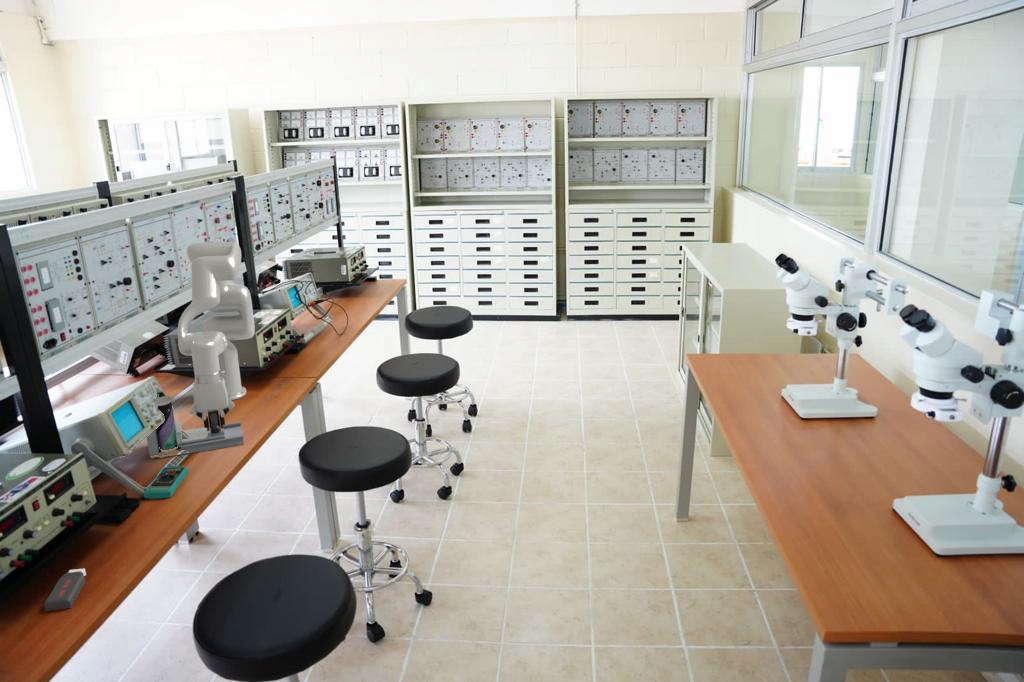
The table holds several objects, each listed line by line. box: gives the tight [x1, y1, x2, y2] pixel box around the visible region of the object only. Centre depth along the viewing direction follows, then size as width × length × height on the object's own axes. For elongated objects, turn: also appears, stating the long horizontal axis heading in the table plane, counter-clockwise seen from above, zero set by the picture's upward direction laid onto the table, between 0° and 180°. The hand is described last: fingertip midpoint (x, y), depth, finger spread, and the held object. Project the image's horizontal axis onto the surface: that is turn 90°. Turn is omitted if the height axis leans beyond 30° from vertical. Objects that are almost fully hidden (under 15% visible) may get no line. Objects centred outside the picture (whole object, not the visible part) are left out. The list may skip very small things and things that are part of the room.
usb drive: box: [43, 568, 87, 612], centre depth 156 cm, size 5×12×3 cm, turn 12°
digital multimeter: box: [143, 465, 189, 499], centre depth 200 cm, size 7×15×3 cm, turn 5°
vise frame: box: [146, 421, 245, 458], centre depth 223 cm, size 12×28×8 cm, turn 115°
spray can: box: [155, 390, 178, 450], centre depth 217 cm, size 6×6×20 cm
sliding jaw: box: [175, 410, 225, 449], centre depth 223 cm, size 8×14×9 cm, turn 115°
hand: (215, 427), depth 225 cm, fingers open, 3 cm apart
